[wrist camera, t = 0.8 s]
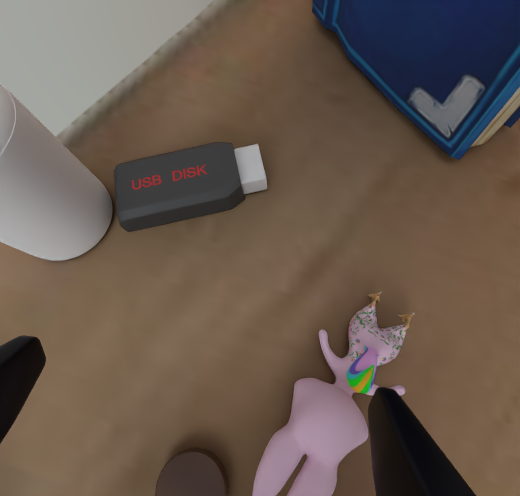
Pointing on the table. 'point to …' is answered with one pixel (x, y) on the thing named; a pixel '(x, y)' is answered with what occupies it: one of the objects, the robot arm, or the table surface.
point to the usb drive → (186, 184)
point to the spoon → (193, 475)
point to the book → (437, 61)
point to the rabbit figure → (330, 410)
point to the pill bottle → (46, 190)
